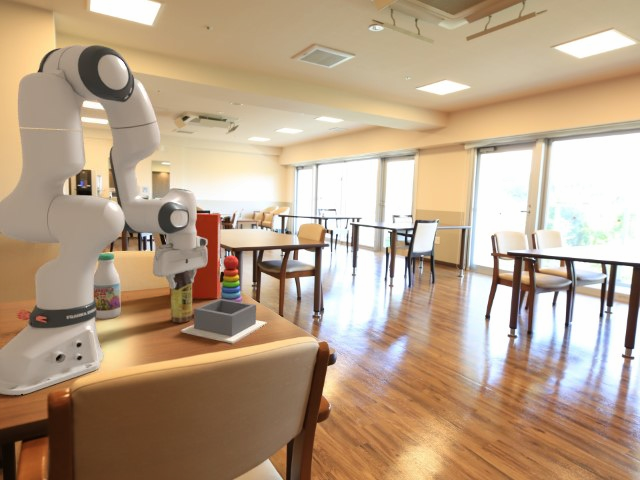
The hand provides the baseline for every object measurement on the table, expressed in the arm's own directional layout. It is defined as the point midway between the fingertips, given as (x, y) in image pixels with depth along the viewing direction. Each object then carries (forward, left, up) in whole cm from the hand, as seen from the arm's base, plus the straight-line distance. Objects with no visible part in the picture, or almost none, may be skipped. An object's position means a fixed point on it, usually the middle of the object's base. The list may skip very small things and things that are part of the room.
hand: (181, 285), depth 120 cm
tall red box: (+24, +15, -11) cm, 30 cm away
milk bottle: (-8, +23, -11) cm, 27 cm away
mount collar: (+1, -16, -11) cm, 20 cm away
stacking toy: (+19, -5, -11) cm, 23 cm away
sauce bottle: (0, 0, -11) cm, 11 cm away
